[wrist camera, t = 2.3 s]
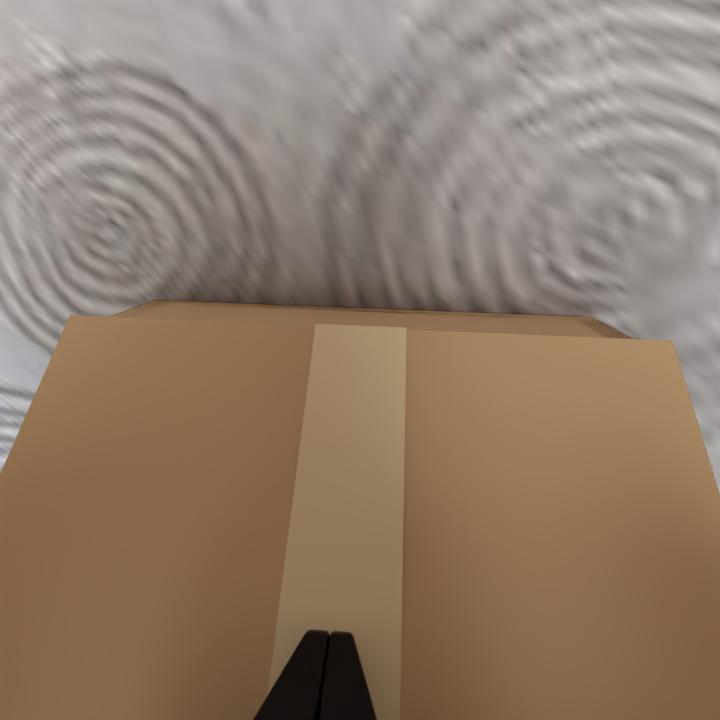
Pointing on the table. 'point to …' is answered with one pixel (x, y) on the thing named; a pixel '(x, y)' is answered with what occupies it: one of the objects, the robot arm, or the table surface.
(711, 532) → the lid
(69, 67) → the table surface
